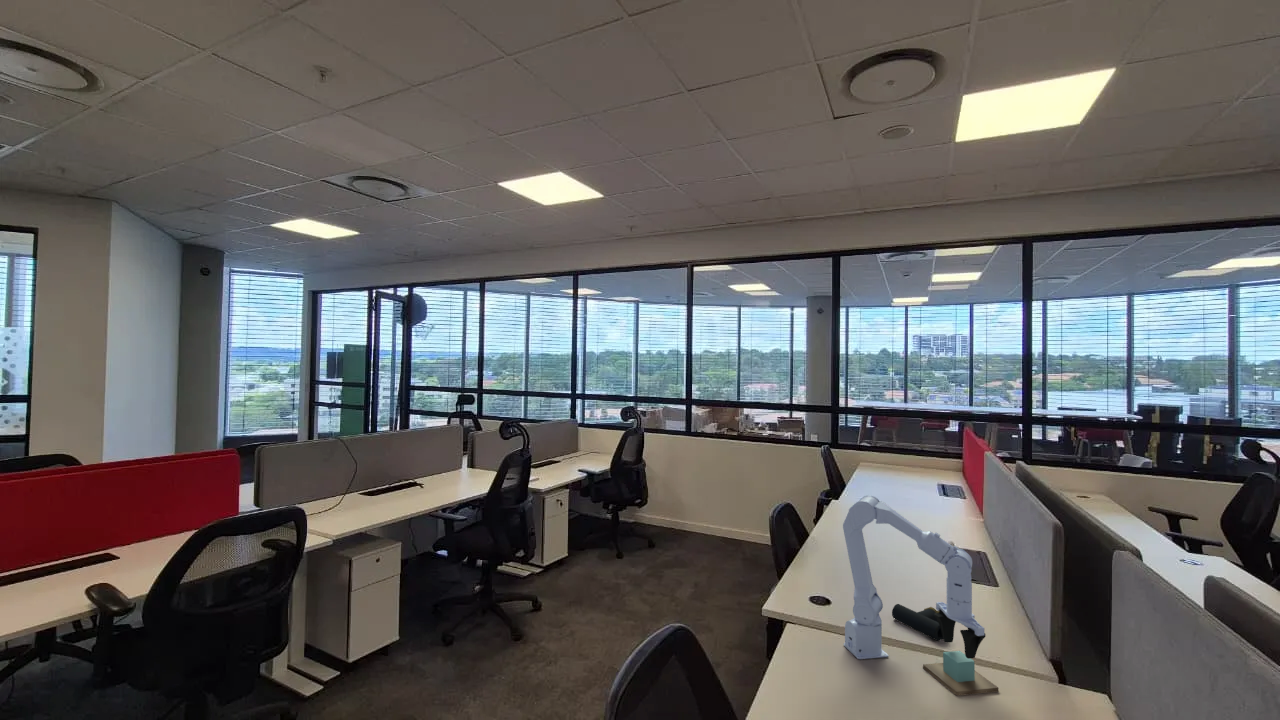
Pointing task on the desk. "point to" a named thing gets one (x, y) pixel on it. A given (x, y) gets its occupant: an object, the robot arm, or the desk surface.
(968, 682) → the base plate
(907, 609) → the pipe connector
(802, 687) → the desk surface
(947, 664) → the teal cube
